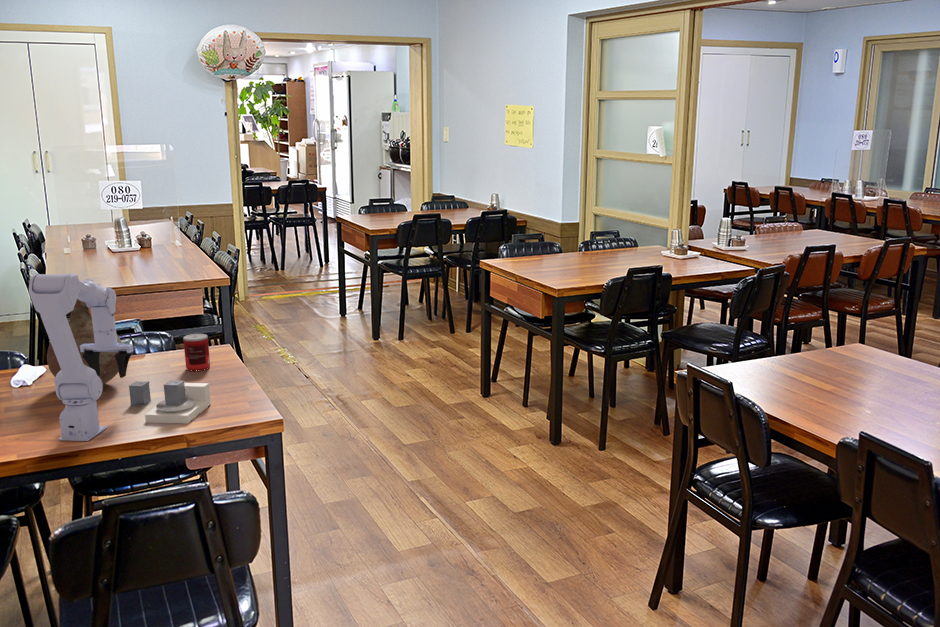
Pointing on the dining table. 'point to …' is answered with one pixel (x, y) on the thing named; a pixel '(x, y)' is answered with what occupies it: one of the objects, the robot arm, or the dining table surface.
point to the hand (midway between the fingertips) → (110, 376)
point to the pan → (186, 405)
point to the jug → (85, 335)
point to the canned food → (196, 352)
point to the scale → (202, 401)
